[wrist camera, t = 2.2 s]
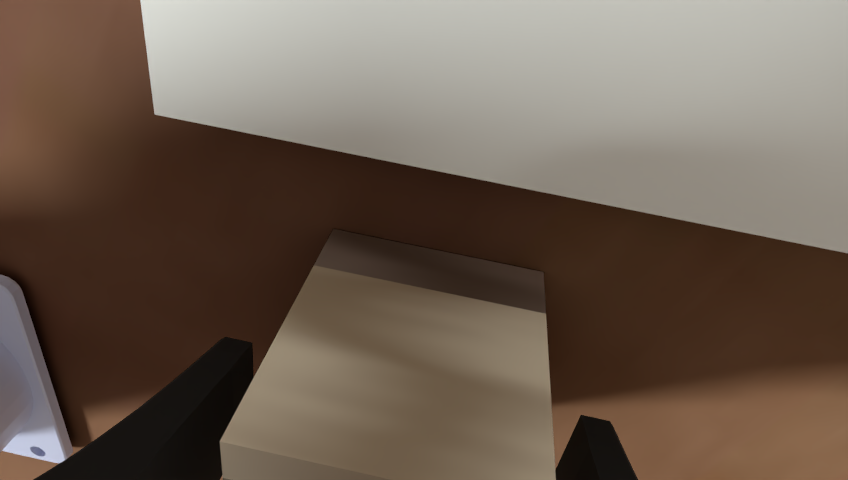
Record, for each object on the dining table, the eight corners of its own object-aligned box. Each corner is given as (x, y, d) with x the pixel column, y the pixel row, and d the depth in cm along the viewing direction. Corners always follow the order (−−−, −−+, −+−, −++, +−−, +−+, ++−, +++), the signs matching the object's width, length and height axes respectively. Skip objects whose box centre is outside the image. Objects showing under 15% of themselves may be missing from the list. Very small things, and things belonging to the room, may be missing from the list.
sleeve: (323, 375, 16) (233, 601, 11) (333, 228, 13) (219, 441, 8) (496, 413, 16) (485, 660, 11) (543, 271, 13) (557, 517, 8)
